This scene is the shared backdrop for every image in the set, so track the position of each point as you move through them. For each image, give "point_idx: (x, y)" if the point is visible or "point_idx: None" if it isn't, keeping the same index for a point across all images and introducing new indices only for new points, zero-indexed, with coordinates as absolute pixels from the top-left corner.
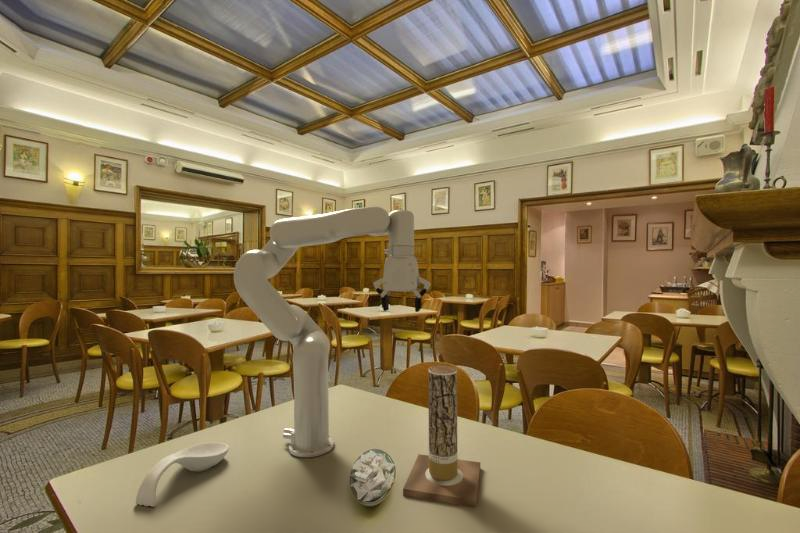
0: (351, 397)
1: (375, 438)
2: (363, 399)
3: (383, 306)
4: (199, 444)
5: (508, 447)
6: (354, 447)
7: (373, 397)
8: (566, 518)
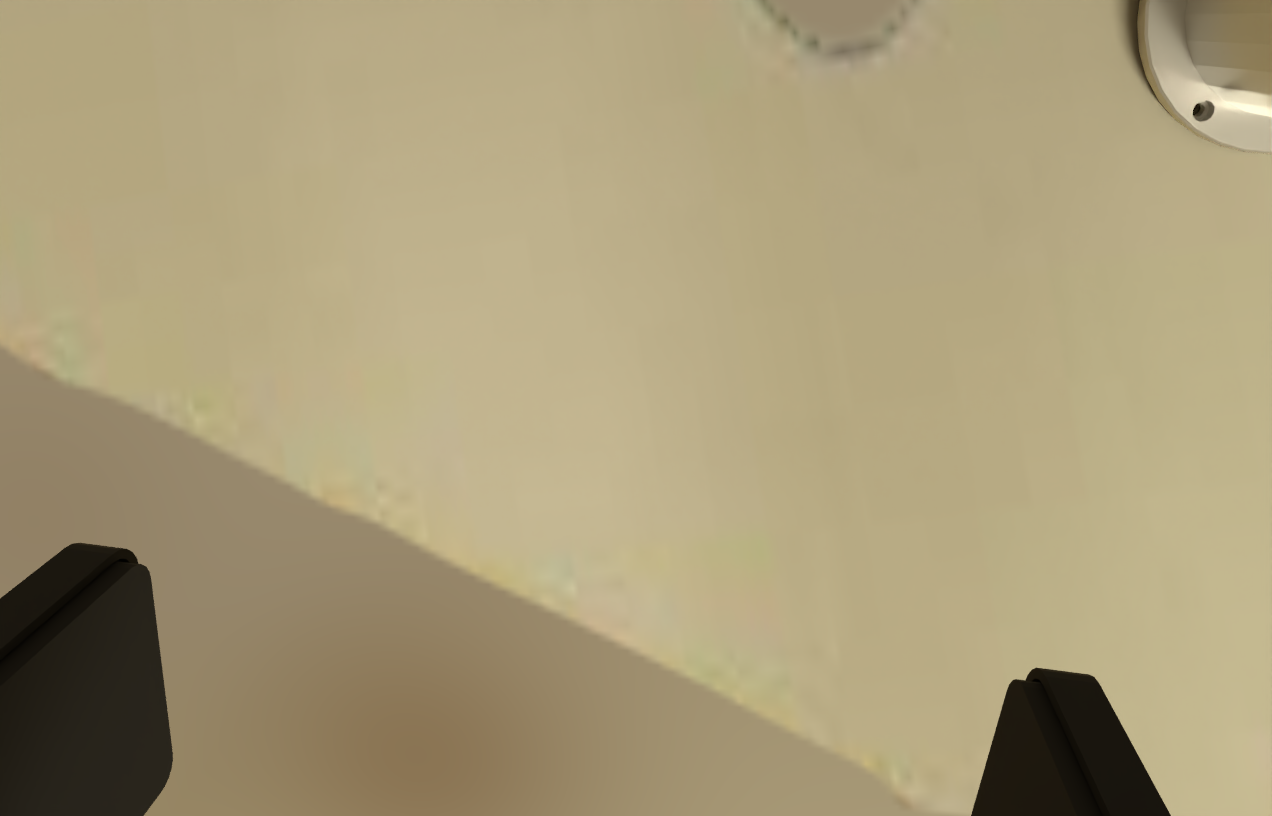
0: None
1: (874, 195)
2: None
3: (1129, 753)
4: None
5: (105, 205)
6: (991, 48)
7: None
8: None
